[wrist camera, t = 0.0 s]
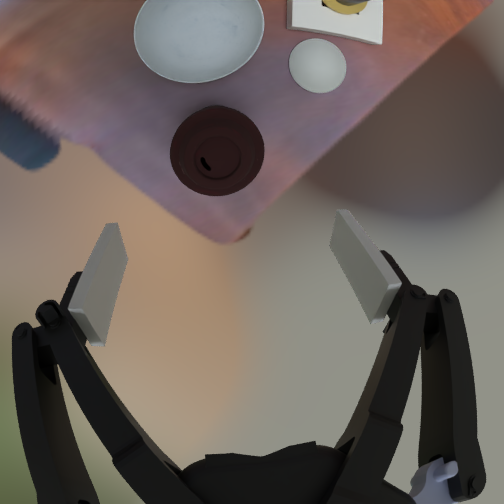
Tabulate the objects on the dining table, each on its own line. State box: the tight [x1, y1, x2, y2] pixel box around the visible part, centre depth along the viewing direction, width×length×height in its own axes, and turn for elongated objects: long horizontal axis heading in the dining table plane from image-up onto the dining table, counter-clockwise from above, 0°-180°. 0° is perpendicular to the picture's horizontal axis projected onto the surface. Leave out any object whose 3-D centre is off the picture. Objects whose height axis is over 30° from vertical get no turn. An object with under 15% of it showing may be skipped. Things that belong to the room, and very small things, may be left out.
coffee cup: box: [170, 106, 264, 196], centre depth 32 cm, size 10×10×15 cm
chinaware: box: [134, 0, 264, 83], centre depth 26 cm, size 15×15×8 cm
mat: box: [289, 38, 346, 93], centre depth 33 cm, size 9×9×1 cm
